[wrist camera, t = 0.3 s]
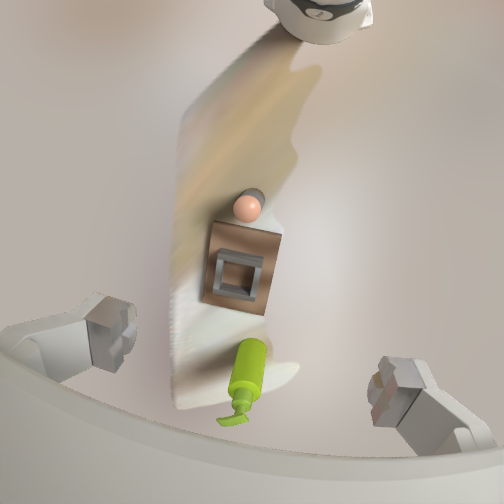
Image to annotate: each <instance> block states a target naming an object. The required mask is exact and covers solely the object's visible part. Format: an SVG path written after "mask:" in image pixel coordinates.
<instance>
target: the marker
mask: <svg viewBox="0 0 504 504" xmlns="http://www.w3.org/2000/svg"><path fill="white" fill-rule="evenodd" d="M264 202H265V197H264V195H263V193H262V192H261V191H260V190H258V189H256V188H250V189H247V190H246V191H245V192H244V193H243V194H242V195H241V196H240V197H239V198H238V199H237V201H236V202H235V204H234V207H233V211H234V214H235V216H236V218H237V219H238V220H240V221H242V222H245V223H250V222H253V221H255V220H256V219H257V218H258V217H259V215H260V212H261V210H262V207H263V205H264Z"/></svg>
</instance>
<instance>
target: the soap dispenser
mask: <svg viewBox="0 0 504 504" xmlns="http://www.w3.org/2000/svg"><path fill="white" fill-rule="evenodd" d="M266 353H267V348H266V346H265V344H264V343H263V342H262V341H260V340H258V339H254V338H249V339H245V340H244V341H242V342H241V343H240V345H239V348H238V352H237V356H236V360H235V364H234V368H233V371H232V375H231V379H230V383H229V387H228V393H229V395H230V396H231V398H233V400H232V407H233V409H234V410H235V414H234V415H232V416H229V417H224V418H217V419H216V421H217V422H218V423H219V424H220V425H221V426H234V425H239V424H242V423H245V422H248V421H249V419H248V417H247V416H246V415H245V412H247V411H249V410H250V409H251V406H252V402H255V401H256V400H258V398H259V397H260V395H261V389H262V382H263V374H264V367H265V360H266Z"/></svg>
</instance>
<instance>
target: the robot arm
mask: <svg viewBox="0 0 504 504" xmlns="http://www.w3.org/2000/svg"><path fill="white" fill-rule="evenodd" d="M264 5H265V6H266V7H267V8H268V9H270V10H271V11H272V12H274V13H275V14H276V15H277V17H278V19H279V20H280V22H281V24H282V25H283V27H284V28H285V29H286V30H287V31H288V32H289V33H291V34H292V35H293V36H295V37H297V38H298V39H300V40H303V41H305V42H309V43H312V44H319V45H329V44H335V43H339V42H341V41H343V40H346V39H347V38H349V37H350V36H351V35H352V34H353V33H355V32H356V31H358V30H362V29H366V28H369V27H370V26H371V25H372V23H373V16H372V8H371V1H370V0H264ZM366 16H367V17H366ZM136 316H137V315H136V306H135V305H134V304H132V303H129V302H126V301H122V300H119V299H116V298H113V297H110V296H107V295H104V294H100V293H92V294H91V295H90V296H89V297H88V298H87V299H85V300H84V301H83V302H82V303H81V304H80V305H79V306H77V308H75V309H74V310H73V311H72V312H71V313H70V314H68V313H62V314H58V315H54V316H49V317H45V318H41V319H37V320H33V321H29V322H25V323H20V324H17V325H12V326H8V327H6V328H5V329H4V330H3V331H1V332H0V504H504V446H500V447H498V446H497V444H496V442H495V440H494V438H493V436H492V434H491V431H490V429H489V428H488V425H487V424H486V423H484V422H483V421H482V420H481V419H479V418H478V417H477V416H475V415H474V414H473V413H472V412H470V411H469V410H468V409H467V408H465V407H464V406H463V405H461V404H460V403H459V402H457V401H456V400H455V399H454V398H452V397H451V396H450V395H449V394H447V393H446V392H445V391H443V390H439V389H438V386H437V384H436V382H435V380H434V378H433V376H432V374H431V372H430V370H429V368H428V366H427V364H426V362H425V361H424V360H423V359H412V358H410V359H409V358H397V357H389V356H383V358H382V359H381V360H380V362H379V364H378V368H379V372H377V373H376V374H374V375H373V376H372V378H371V380H370V382H369V386H368V390H367V391H368V392H367V393H368V394H367V397H368V402H369V403H370V404H371V405H372V406H373V409H372V410H371V416H372V420H373V425H374V426H377V427H392V428H396V430H397V431H398V432H399V433H400V434H401V436H402V437H403V438H404V439H405V440H406V442H407V443H408V444H409V445H410V447H411V448H412V449H413V450H414V451H415V453H416V454H417V455H418V456H416V457H380V458H379V457H377V458H376V457H347V456H331V455H318V454H309V453H299V452H292V451H284V450H276V449H270V448H264V447H258V446H252V445H247V444H242V443H237V442H232V441H227V440H222V439H218V438H213V437H209V436H205V435H201V434H197V433H193V432H190V431H186V430H182V429H179V428H175V427H171V426H168V425H165V424H162V423H159V422H156V421H152V420H149V419H146V418H143V417H140V416H137V415H135V414H132V413H129V412H126V411H124V410H121V409H118V408H116V407H113V406H110V405H108V404H105V403H103V402H100V401H98V400H95V399H92V398H91V397H88V396H86V395H84V394H81V393H79V392H77V391H75V390H72V389H70V388H68V387H66V386H64V385H62V384H60V382H62V381H64V380H67V379H68V378H71V377H72V376H75V375H77V374H79V373H81V372H83V371H85V370H87V369H89V368H91V367H92V366H95V367H98V368H100V369H103V370H106V371H109V372H112V373H116V372H117V370H118V369H119V367H120V366H121V364H122V363H123V361H124V357H123V355H126V354H128V353H130V352H131V350H132V349H133V347H134V344H135V341H136V336H137V327H136V325H135V323H134V322H133V320H134V318H135V317H136Z"/></svg>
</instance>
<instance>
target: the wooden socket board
mask: <svg viewBox="0 0 504 504" xmlns="http://www.w3.org/2000/svg"><path fill="white" fill-rule="evenodd" d="M281 237H282V234H279V233H274V232H269V231H264V230H259V229H254V228H249V227H244V226H239V225H234V224H229V223H224V222H219V221H214V222H213V225H212V232H211V239H210V247H209V254H208V262H207V269H206V277H205V285H204V294H203V303H207V304H211V305H216V306H220V307H225V308H229V309H234V310H238V311H243V312H247V313H252V314H257V315H262V316H264V313H265V309H266V304H267V300H268V295H269V291H270V287H271V282H272V278H273V273H274V268H275V264H276V260H277V255H278V250H279V246H280V241H281Z"/></svg>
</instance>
